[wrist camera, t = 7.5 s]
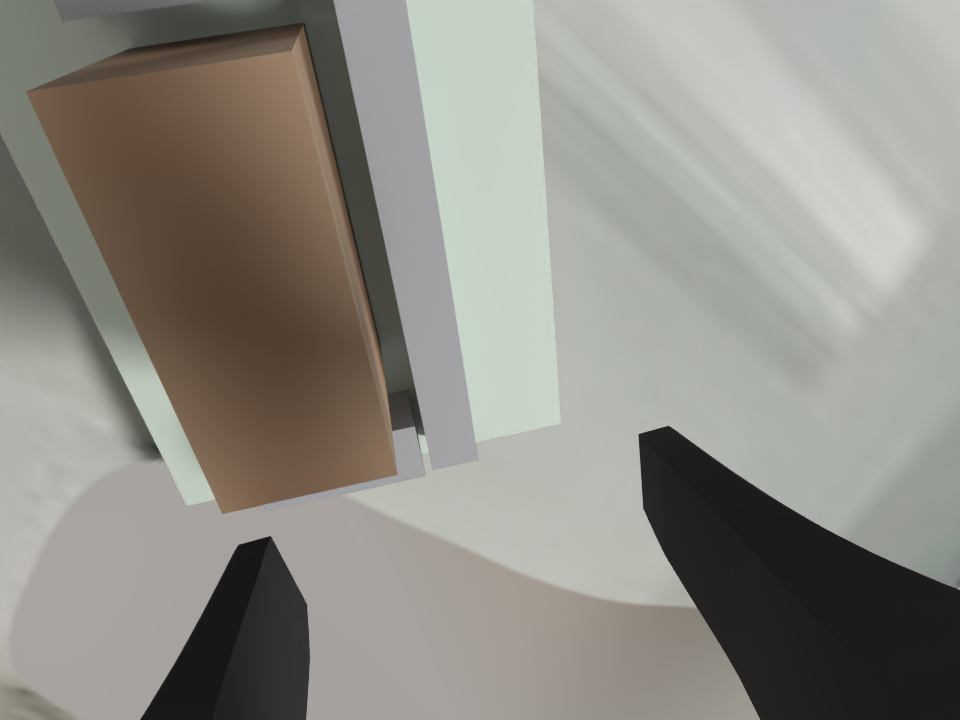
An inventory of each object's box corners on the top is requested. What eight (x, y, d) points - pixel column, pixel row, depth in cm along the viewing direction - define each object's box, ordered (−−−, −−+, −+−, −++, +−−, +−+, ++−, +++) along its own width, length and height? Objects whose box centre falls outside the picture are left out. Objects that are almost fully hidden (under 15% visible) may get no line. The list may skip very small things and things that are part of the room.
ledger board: (442, -1061, 10) (485, -1461, 7) (551, 404, 24) (578, 459, 21) (-560, -1080, 8) (-983, -1577, 6) (193, 481, 23) (174, 551, 20)
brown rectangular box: (304, 22, 15) (291, 50, 10) (380, 347, 20) (397, 474, 15) (128, 48, 15) (24, 91, 10) (249, 373, 20) (221, 514, 15)
